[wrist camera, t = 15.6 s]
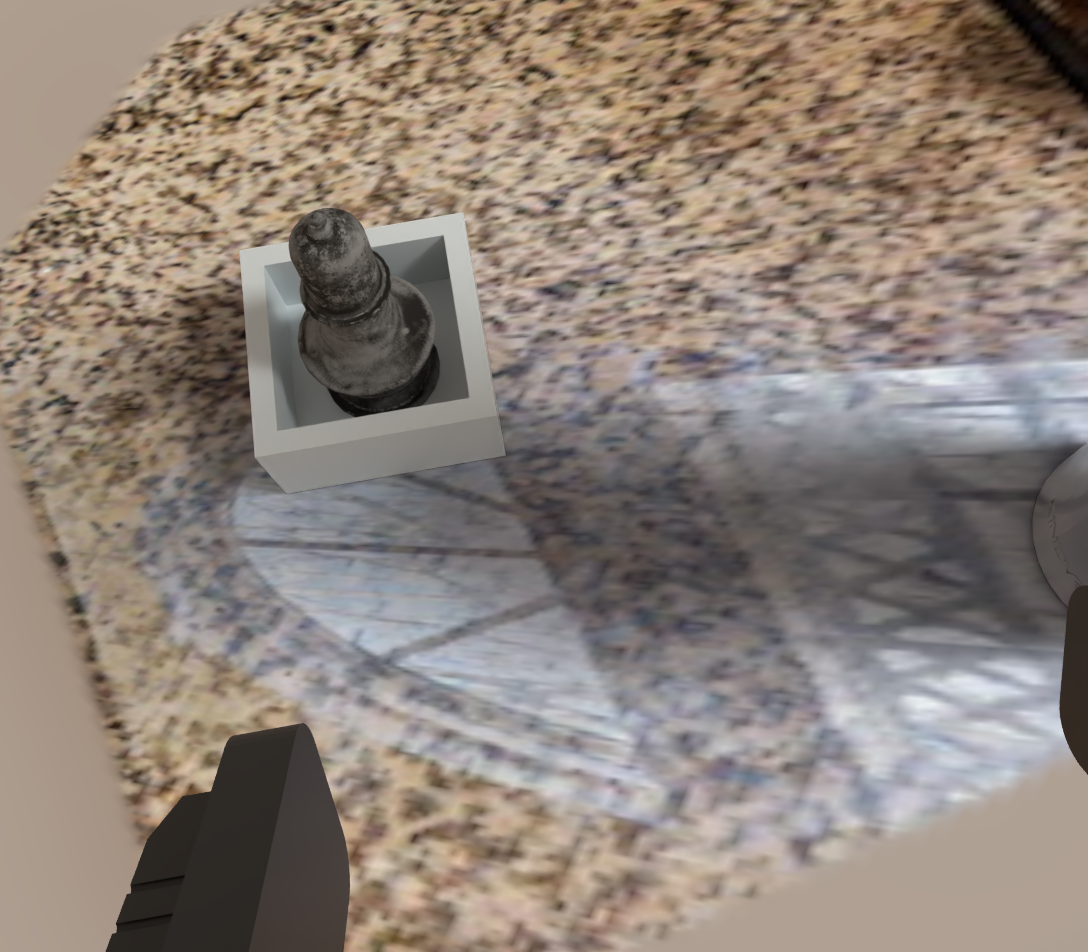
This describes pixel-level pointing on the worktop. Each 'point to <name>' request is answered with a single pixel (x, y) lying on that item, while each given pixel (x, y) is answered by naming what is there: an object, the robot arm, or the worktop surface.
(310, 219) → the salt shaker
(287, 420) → the sleeve
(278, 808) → the robot arm
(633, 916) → the worktop surface
